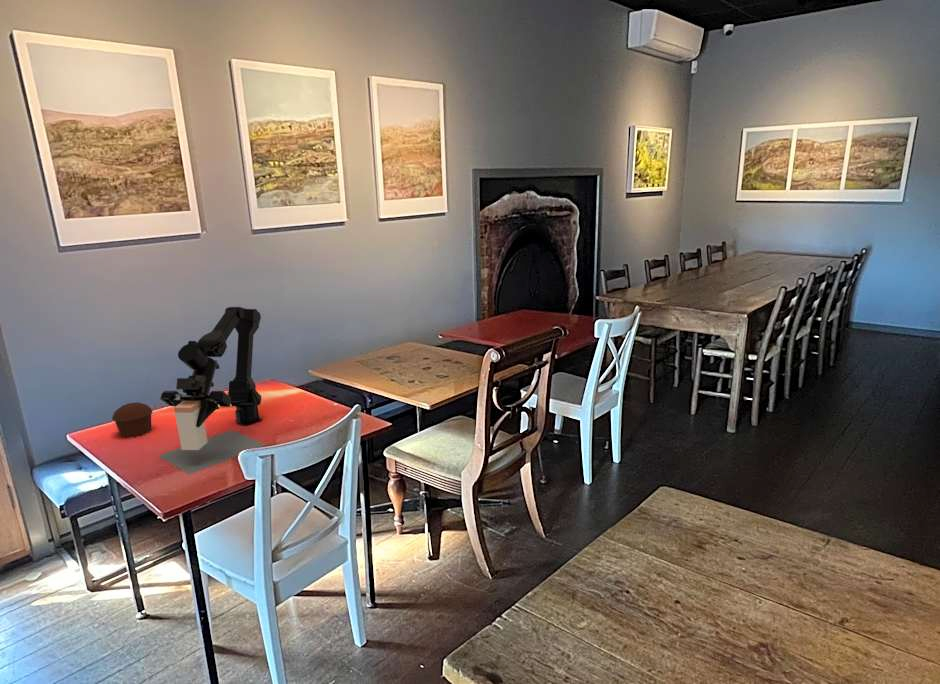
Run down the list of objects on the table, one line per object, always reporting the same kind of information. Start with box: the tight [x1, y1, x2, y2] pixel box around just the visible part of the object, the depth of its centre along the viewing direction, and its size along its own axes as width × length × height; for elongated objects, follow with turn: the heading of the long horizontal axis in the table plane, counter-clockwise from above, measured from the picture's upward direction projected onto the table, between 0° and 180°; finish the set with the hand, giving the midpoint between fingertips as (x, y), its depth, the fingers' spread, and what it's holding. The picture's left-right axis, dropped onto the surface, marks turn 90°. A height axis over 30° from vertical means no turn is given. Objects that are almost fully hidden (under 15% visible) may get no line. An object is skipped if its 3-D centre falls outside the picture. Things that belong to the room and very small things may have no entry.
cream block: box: [173, 401, 208, 450], centre depth 165 cm, size 5×5×13 cm
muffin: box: [111, 402, 153, 438], centre depth 191 cm, size 12×11×10 cm
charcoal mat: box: [157, 429, 266, 475], centre depth 177 cm, size 24×20×1 cm
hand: (188, 426), depth 164 cm, fingers closed on cream block, 5 cm apart
